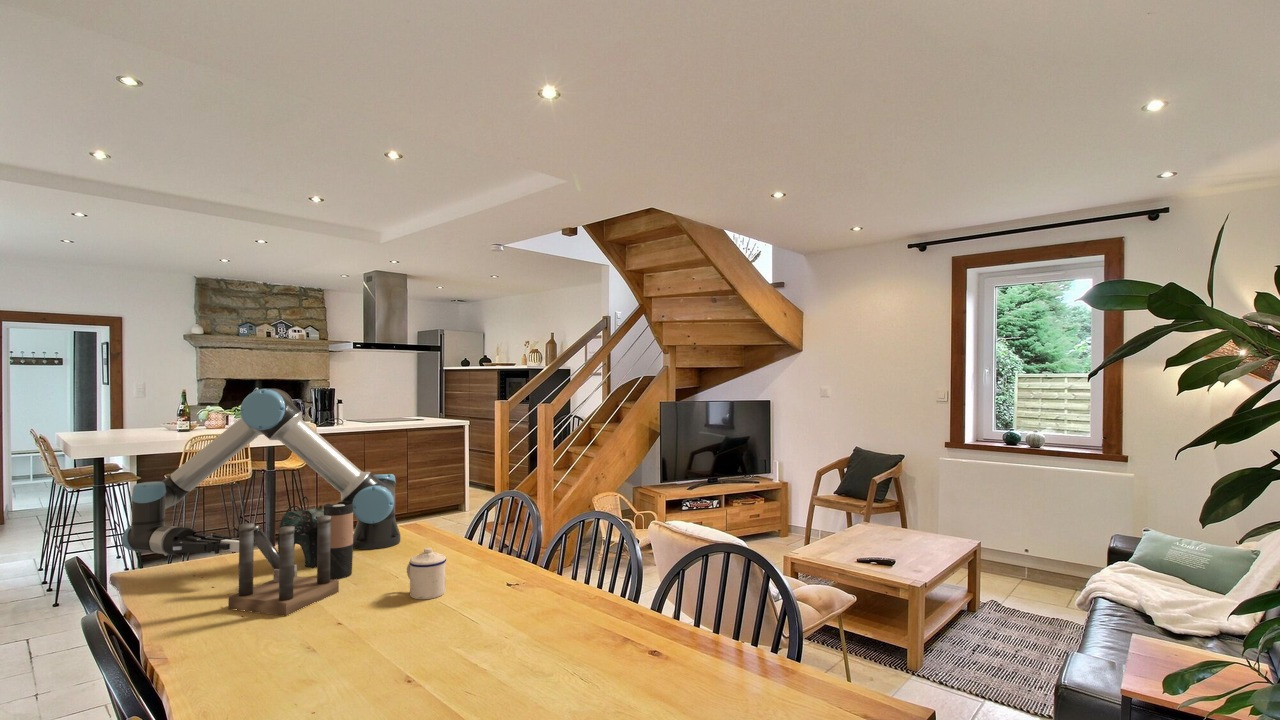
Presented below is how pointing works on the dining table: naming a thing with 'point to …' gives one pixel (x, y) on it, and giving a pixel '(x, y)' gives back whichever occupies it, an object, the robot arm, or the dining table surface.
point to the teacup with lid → (427, 575)
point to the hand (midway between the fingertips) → (242, 546)
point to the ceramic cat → (304, 531)
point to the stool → (283, 574)
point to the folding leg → (266, 547)
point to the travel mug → (340, 539)
